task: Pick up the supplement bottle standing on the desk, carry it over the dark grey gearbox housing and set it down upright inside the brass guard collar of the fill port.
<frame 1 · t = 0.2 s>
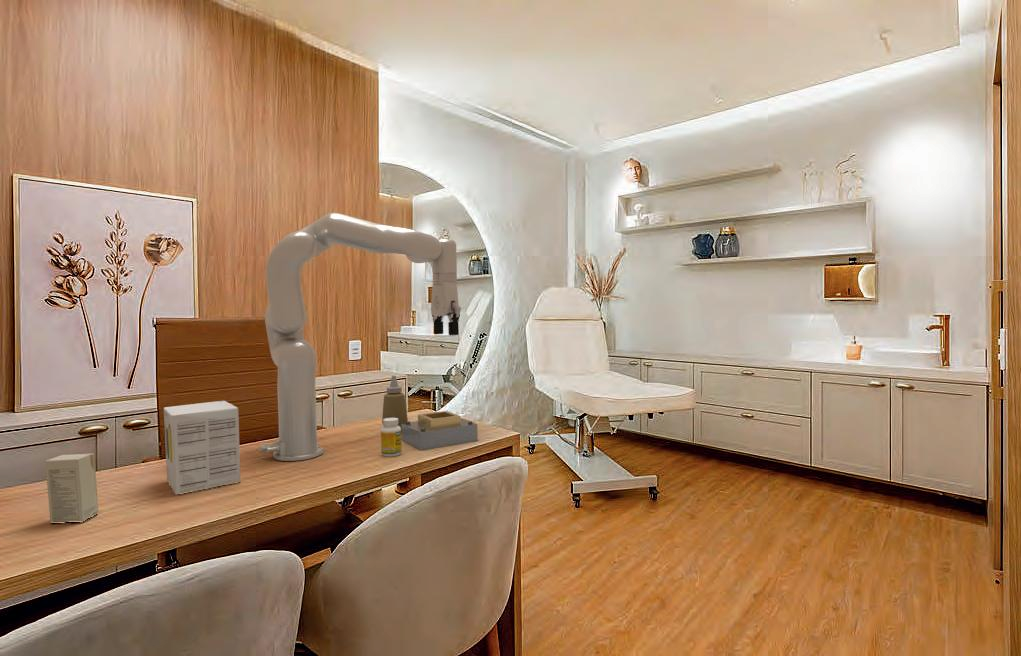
hand: (445, 334, 167), 31 cm above the table, tool pointing down, fingers open, 9 cm apart
supplement bottle: (391, 455, 145), on the table
supplement box: (203, 483, 124), on the table
skincare box: (74, 520, 102), on the table
squeeze bottle: (395, 432, 170), on the table
gearbox housing: (439, 440, 159), on the table
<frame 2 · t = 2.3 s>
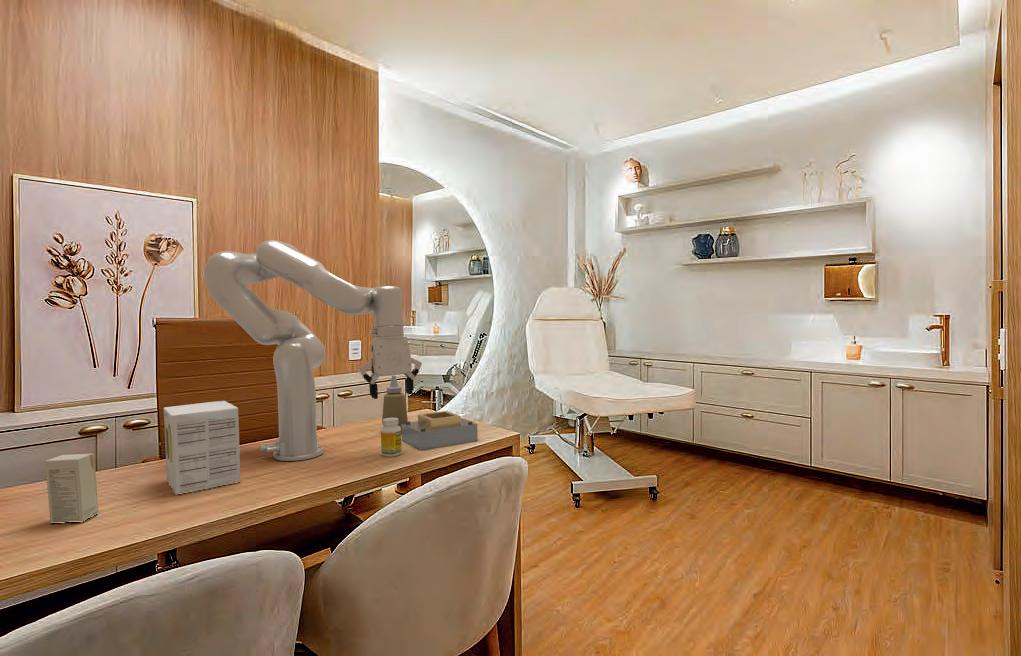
hand: (392, 395, 144), 16 cm above the table, tool pointing down, fingers open, 9 cm apart
nothing on the table moved.
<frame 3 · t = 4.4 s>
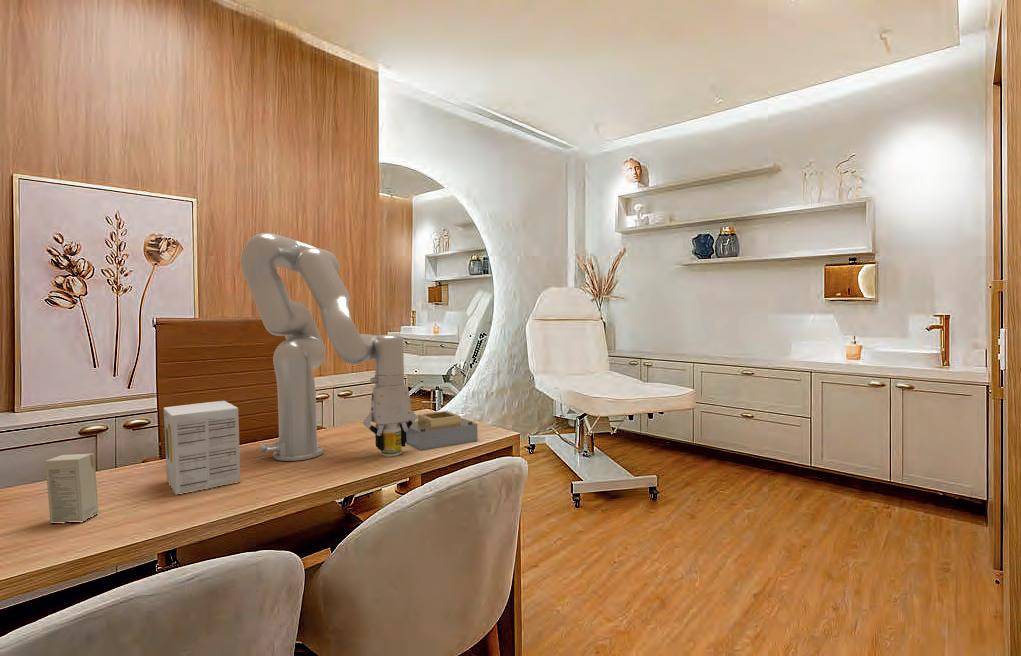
hand: (391, 446, 145), 2 cm above the table, tool pointing down, fingers closed on supplement bottle, 5 cm apart
supplement bottle: (391, 454, 145), on the table, touching gripper
everything else where it was.
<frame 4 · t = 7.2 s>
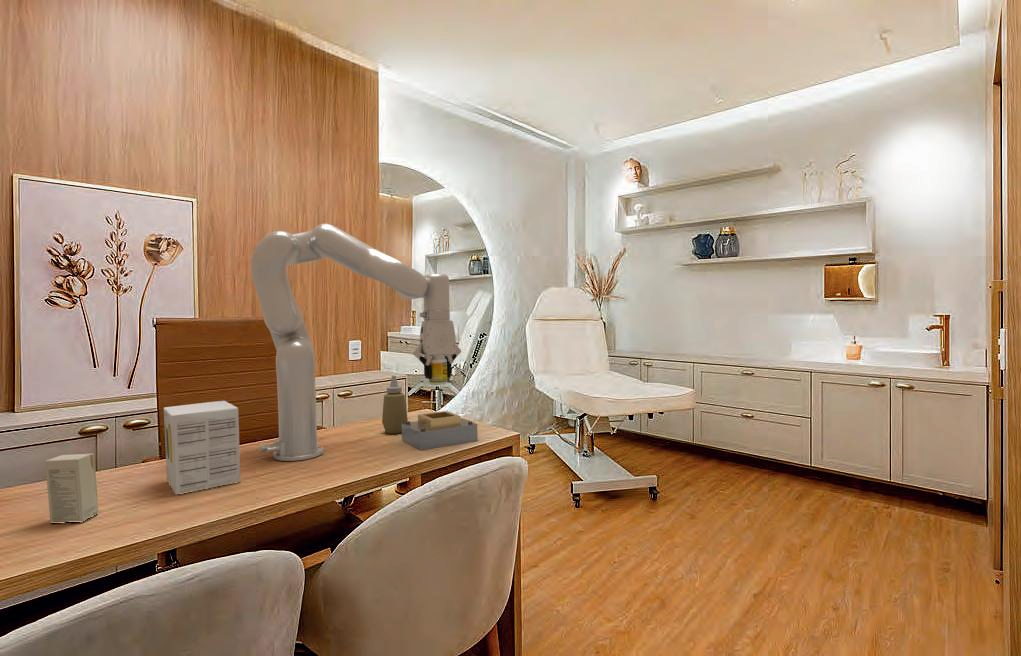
hand: (438, 377, 158), 19 cm above the table, tool pointing down, fingers closed on supplement bottle, 5 cm apart
supplement bottle: (438, 384, 158), point 17 cm above the table, touching gripper
everything else where it was.
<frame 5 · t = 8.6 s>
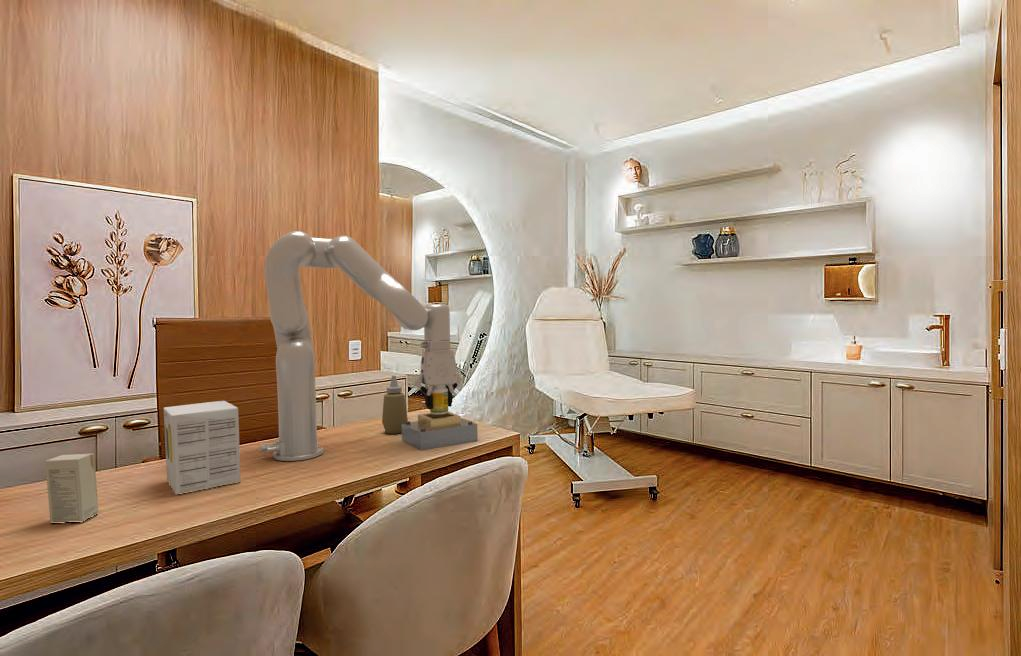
hand: (439, 406, 158), 10 cm above the table, tool pointing down, fingers closed on supplement bottle, 5 cm apart
supplement bottle: (439, 413, 158), point 8 cm above the table, touching gripper
everything else where it was.
when the fingers open (8 cm above the table, at t = 9.9 s): supplement bottle drops 1 cm, resting on gearbox housing.
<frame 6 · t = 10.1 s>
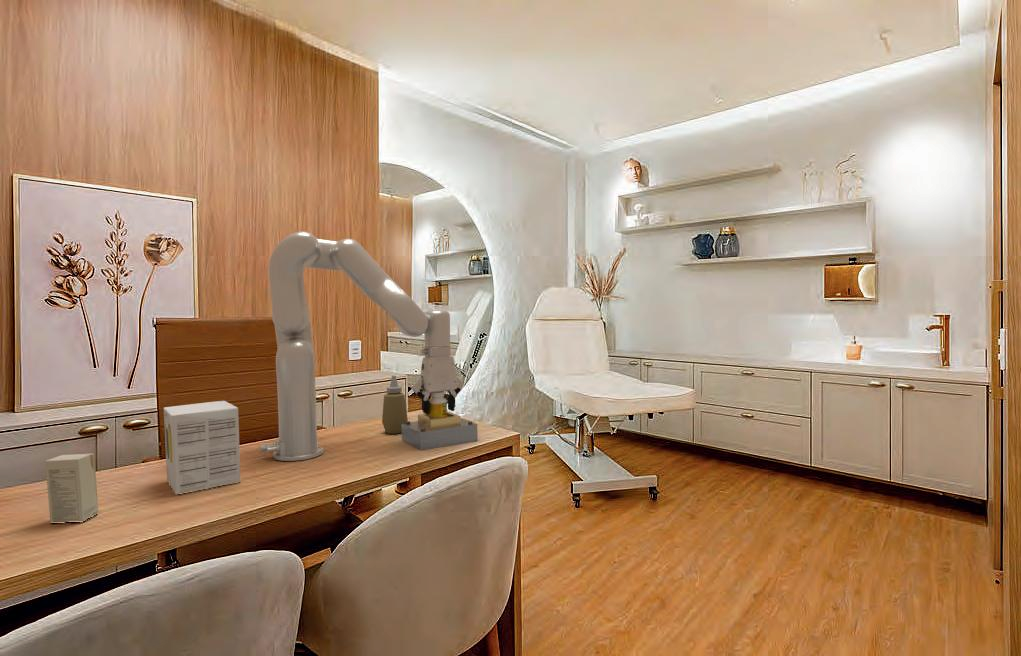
hand: (438, 411, 158), 9 cm above the table, tool pointing down, fingers open, 7 cm apart
supplement bottle: (438, 424, 158), point 5 cm above the table, touching gearbox housing
everything else where it was.
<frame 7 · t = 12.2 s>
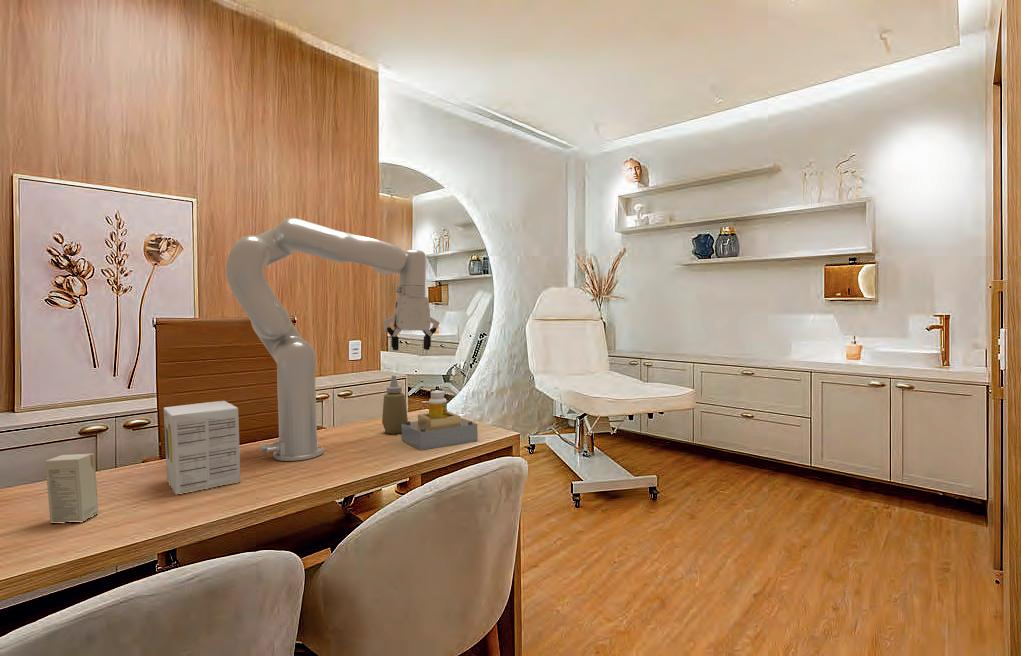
hand: (411, 349, 159), 27 cm above the table, tool pointing down, fingers open, 9 cm apart
nothing on the table moved.
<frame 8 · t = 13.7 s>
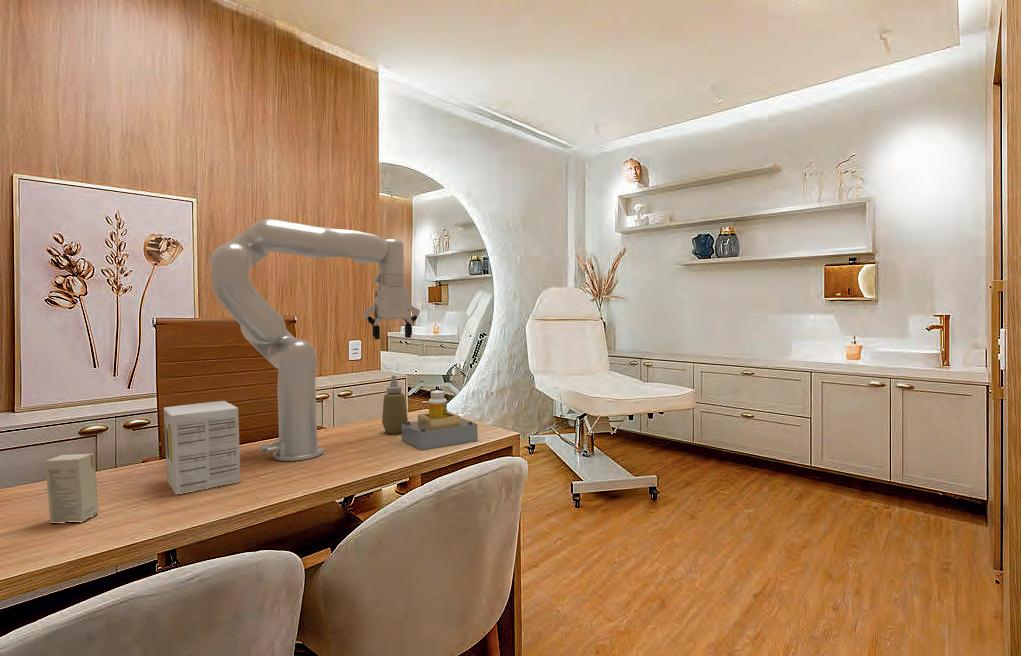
hand: (392, 338, 161), 30 cm above the table, tool pointing down, fingers open, 9 cm apart
nothing on the table moved.
at the end: supplement bottle 0.4 cm off-centre on the gearbox housing, point 4.8 cm above the gearbox housing's base; supplement bottle tilted 0°; the gripper is holding nothing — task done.
